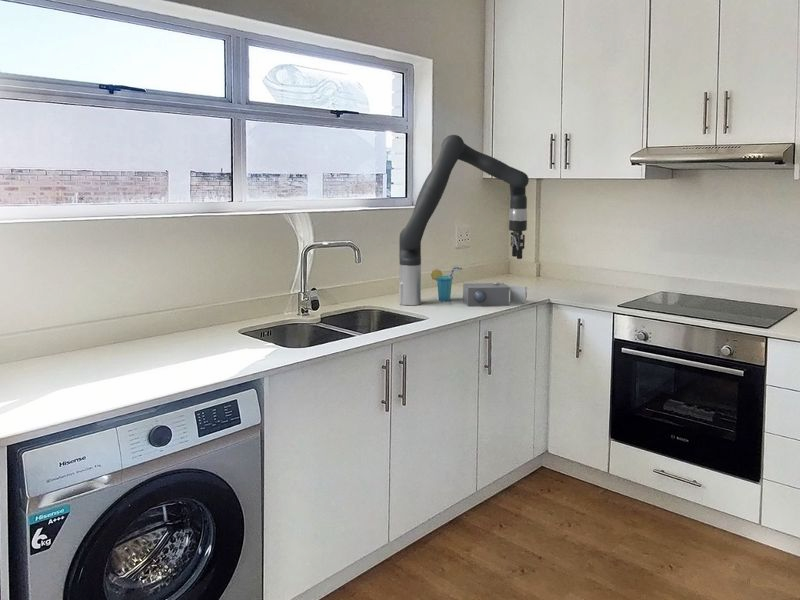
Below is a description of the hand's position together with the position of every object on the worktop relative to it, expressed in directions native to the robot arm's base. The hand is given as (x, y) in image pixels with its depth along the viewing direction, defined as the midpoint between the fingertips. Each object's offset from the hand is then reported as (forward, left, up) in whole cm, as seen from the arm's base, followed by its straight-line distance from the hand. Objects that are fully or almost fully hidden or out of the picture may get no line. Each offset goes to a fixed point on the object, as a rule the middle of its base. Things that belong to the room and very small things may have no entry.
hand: (517, 257), depth 295 cm
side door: (+1, +4, -20) cm, 20 cm away
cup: (-29, +11, -20) cm, 37 cm away
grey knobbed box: (-13, +2, -20) cm, 24 cm away
